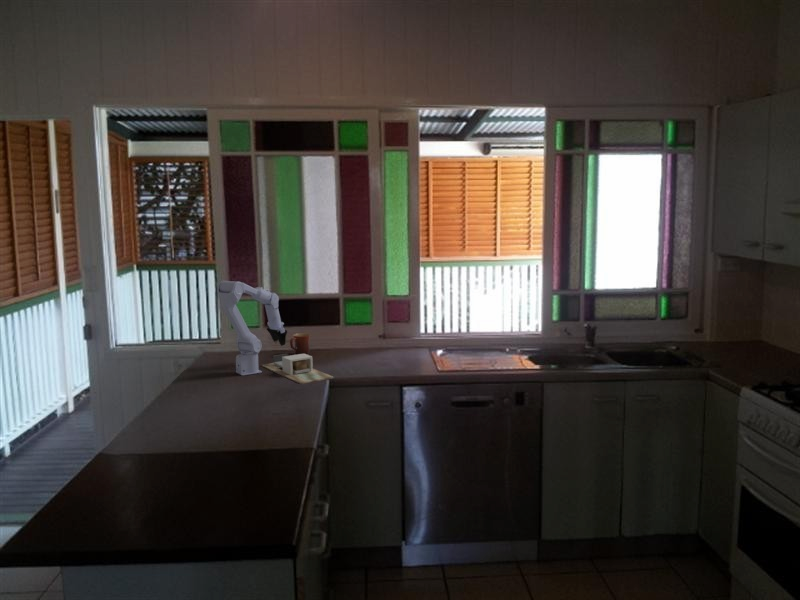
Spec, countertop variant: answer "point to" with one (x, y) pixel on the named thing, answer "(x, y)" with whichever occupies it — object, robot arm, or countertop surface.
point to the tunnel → (289, 359)
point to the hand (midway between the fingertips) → (279, 342)
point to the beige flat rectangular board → (299, 374)
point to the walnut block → (299, 365)
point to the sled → (278, 361)
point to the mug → (300, 343)
